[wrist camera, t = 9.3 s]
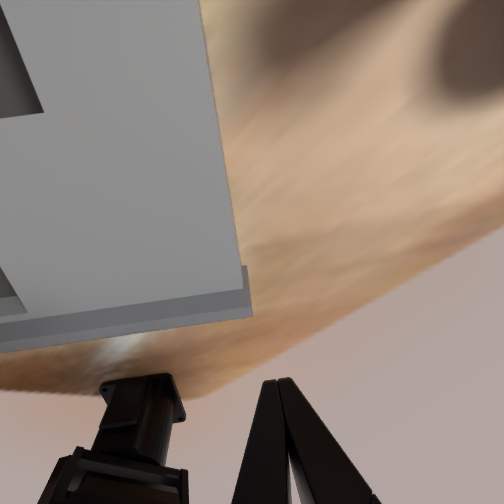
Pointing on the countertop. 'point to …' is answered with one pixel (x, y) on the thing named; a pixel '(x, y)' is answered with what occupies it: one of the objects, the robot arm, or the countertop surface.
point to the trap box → (111, 174)
